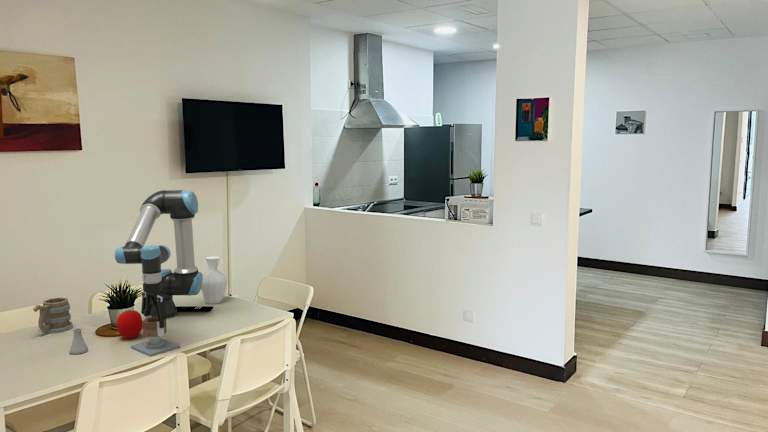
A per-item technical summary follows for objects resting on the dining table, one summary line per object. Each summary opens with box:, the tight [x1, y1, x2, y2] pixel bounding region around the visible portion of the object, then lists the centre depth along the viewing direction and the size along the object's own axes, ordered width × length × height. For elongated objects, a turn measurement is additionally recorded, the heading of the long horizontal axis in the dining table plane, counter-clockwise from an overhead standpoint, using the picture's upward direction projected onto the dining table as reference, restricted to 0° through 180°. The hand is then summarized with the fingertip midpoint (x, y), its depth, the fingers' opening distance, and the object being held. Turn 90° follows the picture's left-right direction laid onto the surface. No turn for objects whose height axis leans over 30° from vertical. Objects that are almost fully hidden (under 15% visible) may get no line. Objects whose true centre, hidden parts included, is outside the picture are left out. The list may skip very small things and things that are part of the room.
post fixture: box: [130, 336, 181, 357], centre depth 252 cm, size 16×14×10 cm
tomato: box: [115, 309, 143, 339], centre depth 265 cm, size 11×11×13 cm
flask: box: [68, 327, 89, 355], centre depth 247 cm, size 7×7×10 cm
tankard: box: [32, 297, 74, 334], centre depth 273 cm, size 20×13×15 cm, turn 168°
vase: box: [200, 255, 228, 305], centre depth 322 cm, size 14×14×25 cm
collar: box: [142, 317, 168, 338], centre depth 251 cm, size 9×9×6 cm
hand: (154, 332), depth 252 cm, fingers closed on collar, 9 cm apart
